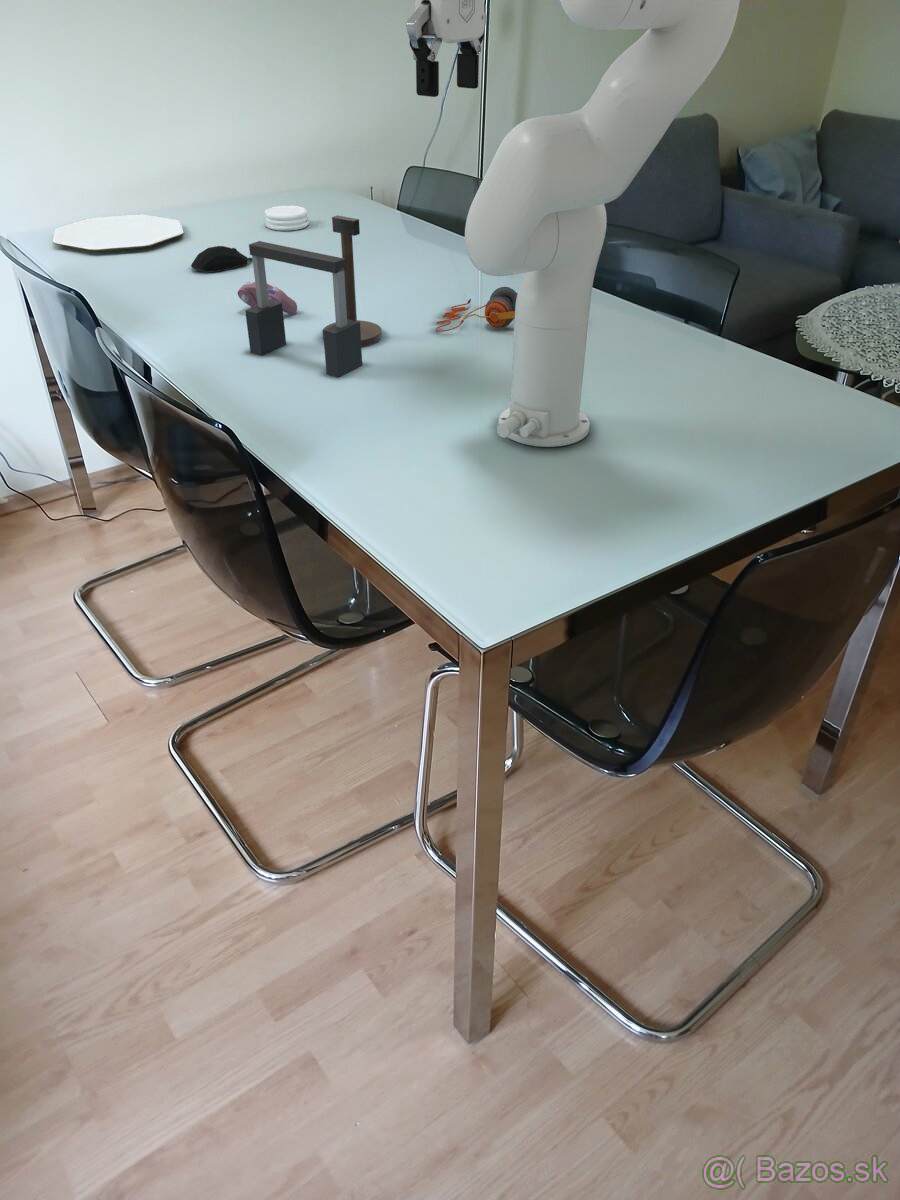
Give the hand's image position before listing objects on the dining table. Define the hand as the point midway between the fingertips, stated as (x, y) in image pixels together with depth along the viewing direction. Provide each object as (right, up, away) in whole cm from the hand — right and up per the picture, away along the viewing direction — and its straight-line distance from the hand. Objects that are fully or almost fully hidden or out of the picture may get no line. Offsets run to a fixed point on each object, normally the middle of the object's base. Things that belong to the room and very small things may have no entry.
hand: (448, 91), depth 123 cm
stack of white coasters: (-38, +19, +91) cm, 100 cm away
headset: (-23, -30, +24) cm, 45 cm away
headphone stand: (-16, -24, +32) cm, 43 cm away
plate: (-74, +13, +82) cm, 111 cm away
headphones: (+8, -19, +39) cm, 44 cm away
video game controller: (-32, -17, +42) cm, 56 cm away
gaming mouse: (-46, 0, +65) cm, 80 cm away
